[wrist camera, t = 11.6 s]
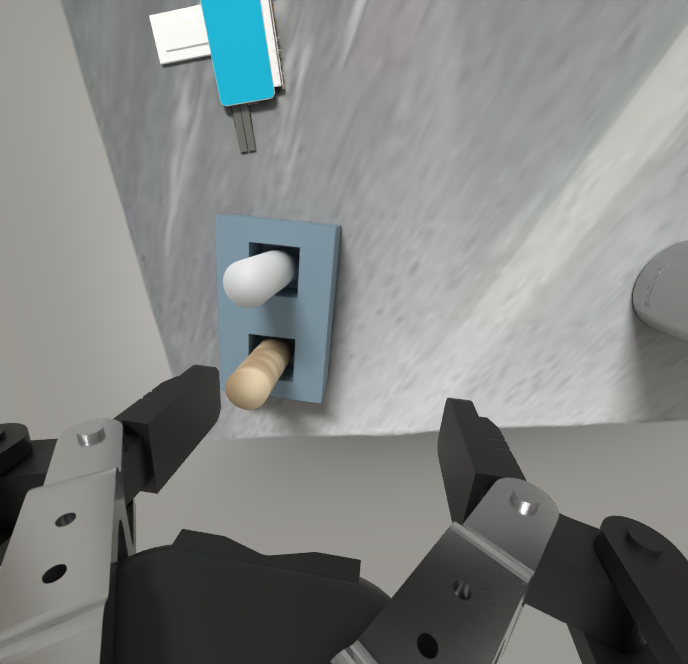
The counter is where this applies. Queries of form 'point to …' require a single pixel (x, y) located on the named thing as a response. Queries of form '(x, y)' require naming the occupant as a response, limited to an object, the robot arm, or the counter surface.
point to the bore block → (277, 296)
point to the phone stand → (227, 51)
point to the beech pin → (259, 372)
